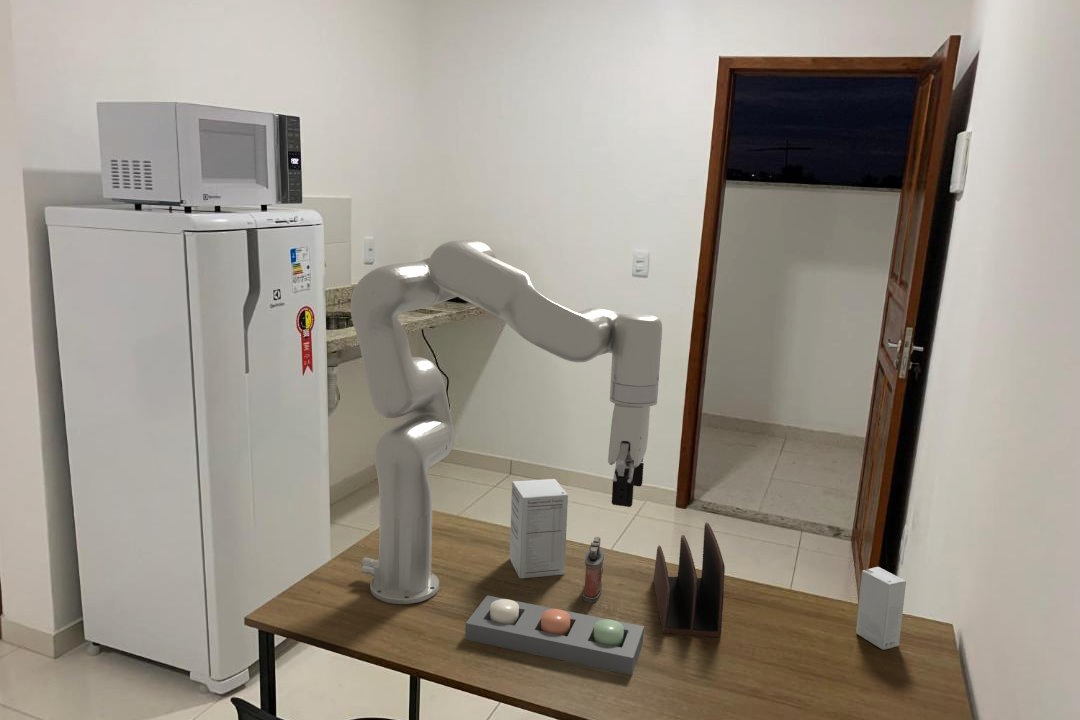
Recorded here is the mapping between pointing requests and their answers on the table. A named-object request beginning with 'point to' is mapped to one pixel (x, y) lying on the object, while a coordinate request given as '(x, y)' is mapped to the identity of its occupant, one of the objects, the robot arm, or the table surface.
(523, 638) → the button panel
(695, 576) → the letter holder
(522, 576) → the supplement box
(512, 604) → the cream button
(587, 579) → the lighter
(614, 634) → the sage button
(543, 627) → the terracotta button
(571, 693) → the table surface
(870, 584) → the skincare box
